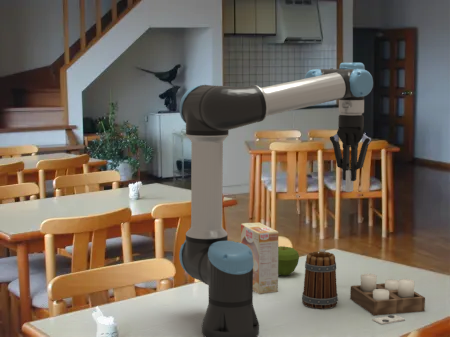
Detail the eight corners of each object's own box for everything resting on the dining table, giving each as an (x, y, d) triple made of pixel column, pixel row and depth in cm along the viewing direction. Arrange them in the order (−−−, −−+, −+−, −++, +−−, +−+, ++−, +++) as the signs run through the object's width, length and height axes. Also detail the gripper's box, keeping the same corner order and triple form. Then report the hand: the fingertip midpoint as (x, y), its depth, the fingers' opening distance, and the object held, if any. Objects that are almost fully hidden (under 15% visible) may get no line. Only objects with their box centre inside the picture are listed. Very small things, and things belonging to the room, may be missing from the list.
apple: (263, 271, 254) (263, 243, 253) (291, 269, 257) (291, 241, 256) (274, 280, 244) (275, 250, 242) (304, 277, 247) (304, 248, 245)
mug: (336, 310, 213) (338, 260, 211) (300, 308, 215) (301, 258, 213) (339, 294, 228) (340, 247, 226) (305, 292, 230) (306, 245, 228)
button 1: (364, 294, 218) (365, 278, 217) (357, 290, 222) (358, 274, 222) (378, 293, 219) (379, 277, 218) (371, 289, 224) (372, 273, 223)
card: (380, 324, 201) (381, 322, 201) (372, 320, 205) (372, 318, 205) (404, 320, 205) (404, 318, 204) (395, 316, 208) (395, 314, 208)
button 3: (388, 300, 220) (389, 284, 220) (381, 295, 225) (382, 279, 224) (402, 299, 222) (403, 283, 221) (395, 294, 226) (396, 278, 225)
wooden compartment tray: (373, 315, 209) (374, 301, 208) (350, 298, 224) (350, 286, 224) (424, 311, 213) (425, 297, 212) (398, 294, 228) (398, 282, 228)
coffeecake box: (239, 281, 242) (240, 223, 240) (259, 279, 245) (260, 221, 242) (257, 294, 228) (258, 232, 226) (278, 292, 231) (279, 231, 228)
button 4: (402, 300, 212) (403, 283, 212) (394, 296, 217) (395, 279, 216) (416, 299, 214) (417, 282, 213) (408, 294, 218) (409, 278, 217)
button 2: (376, 311, 211) (377, 294, 210) (369, 306, 215) (370, 289, 214) (391, 309, 212) (392, 292, 211) (384, 304, 216) (384, 288, 216)
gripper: (326, 114, 223) (324, 191, 226) (367, 115, 216) (365, 194, 219) (335, 112, 229) (334, 187, 232) (376, 114, 222) (374, 191, 226)
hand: (349, 191), depth 226 cm, fingers closed
